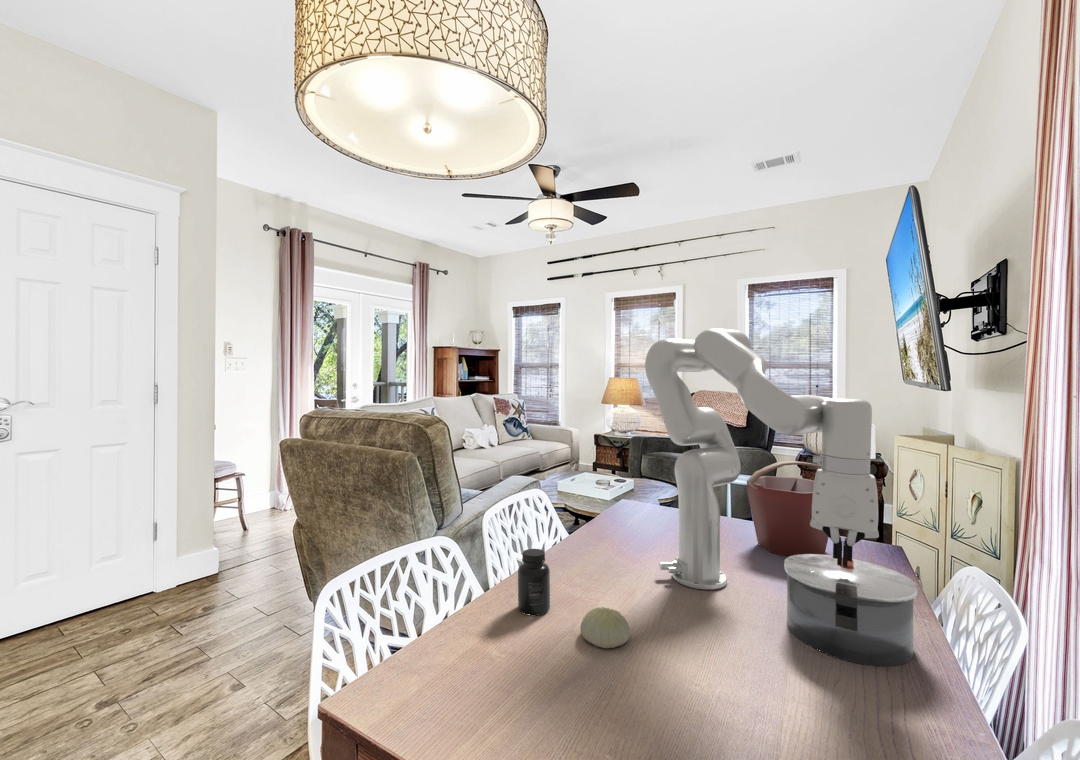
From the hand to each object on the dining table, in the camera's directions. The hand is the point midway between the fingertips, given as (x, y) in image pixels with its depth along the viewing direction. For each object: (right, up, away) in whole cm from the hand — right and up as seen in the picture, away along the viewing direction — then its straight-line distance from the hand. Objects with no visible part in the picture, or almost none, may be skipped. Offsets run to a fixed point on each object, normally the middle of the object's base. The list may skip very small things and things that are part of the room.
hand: (842, 563), depth 87 cm
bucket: (+16, -15, +47) cm, 52 cm away
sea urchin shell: (-44, -15, +1) cm, 46 cm away
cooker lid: (+1, -4, 0) cm, 4 cm away
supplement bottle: (-57, -15, +13) cm, 61 cm away
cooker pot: (+1, -15, +1) cm, 15 cm away
